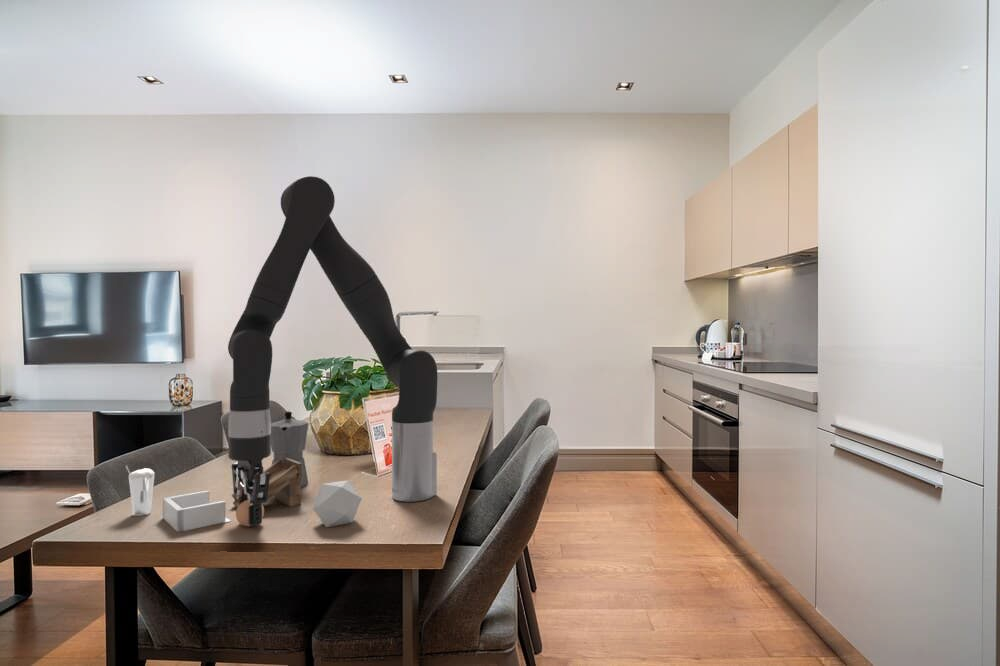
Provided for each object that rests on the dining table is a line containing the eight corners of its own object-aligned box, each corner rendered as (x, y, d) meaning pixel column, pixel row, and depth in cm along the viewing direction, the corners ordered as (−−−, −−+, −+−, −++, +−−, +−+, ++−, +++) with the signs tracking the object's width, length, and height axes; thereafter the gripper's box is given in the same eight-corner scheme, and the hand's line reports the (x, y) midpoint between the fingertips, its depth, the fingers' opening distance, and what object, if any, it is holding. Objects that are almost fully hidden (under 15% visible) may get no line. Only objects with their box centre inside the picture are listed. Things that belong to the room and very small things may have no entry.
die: (353, 516, 118) (325, 479, 117) (377, 502, 113) (347, 464, 113) (327, 542, 111) (296, 503, 110) (350, 529, 106) (318, 488, 106)
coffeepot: (305, 491, 134) (305, 414, 134) (262, 493, 132) (262, 415, 132) (312, 475, 149) (312, 406, 149) (274, 477, 147) (274, 407, 147)
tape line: (212, 508, 121) (212, 507, 121) (231, 521, 113) (231, 520, 113) (206, 509, 121) (206, 508, 121) (224, 522, 112) (224, 522, 112)
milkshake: (132, 510, 120) (132, 462, 120) (159, 510, 120) (159, 462, 120) (119, 517, 115) (119, 467, 115) (147, 517, 115) (147, 467, 116)
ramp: (286, 495, 130) (286, 457, 130) (301, 503, 124) (301, 463, 124) (231, 506, 122) (231, 465, 122) (244, 515, 116) (244, 472, 116)
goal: (208, 509, 120) (208, 490, 120) (225, 522, 112) (225, 501, 112) (162, 518, 115) (162, 498, 115) (177, 532, 107) (177, 510, 107)
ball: (258, 519, 114) (258, 494, 114) (268, 525, 110) (268, 499, 110) (232, 525, 110) (232, 499, 110) (241, 532, 107) (241, 505, 107)
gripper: (284, 435, 108) (284, 526, 107) (256, 426, 118) (256, 508, 118) (242, 440, 102) (242, 535, 102) (217, 430, 113) (217, 516, 113)
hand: (250, 520), depth 110 cm, fingers closed on ball, 5 cm apart
